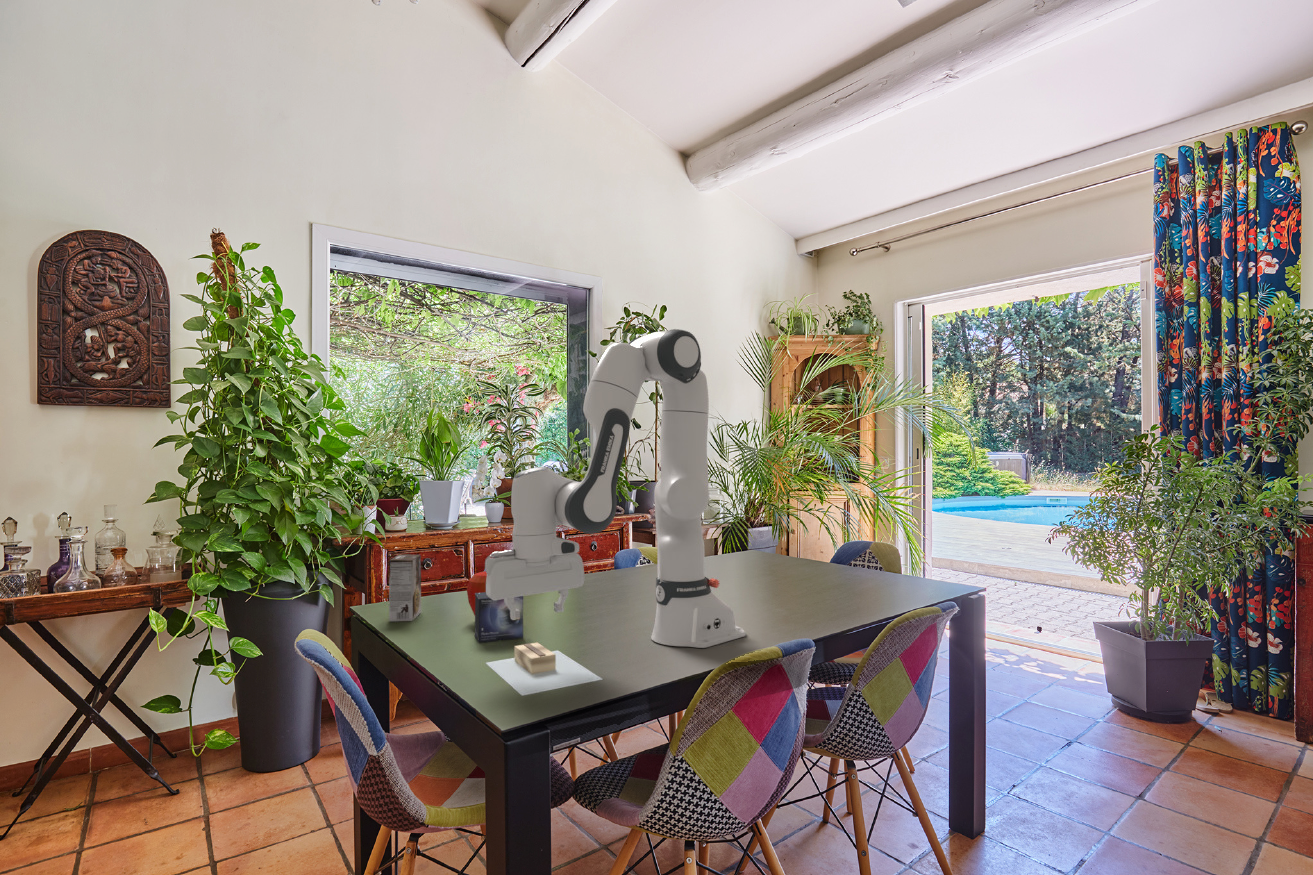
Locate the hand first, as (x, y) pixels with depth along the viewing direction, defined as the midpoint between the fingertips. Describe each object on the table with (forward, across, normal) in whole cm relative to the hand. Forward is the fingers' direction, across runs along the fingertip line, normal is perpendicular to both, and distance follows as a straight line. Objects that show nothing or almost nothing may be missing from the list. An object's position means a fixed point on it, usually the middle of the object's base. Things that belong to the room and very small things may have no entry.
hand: (537, 615), depth 138 cm
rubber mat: (+11, -1, -4) cm, 11 cm away
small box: (+11, 0, +26) cm, 28 cm away
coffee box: (+10, -15, +59) cm, 62 cm away
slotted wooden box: (+10, -1, 0) cm, 10 cm away
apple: (+10, +3, +42) cm, 44 cm away
